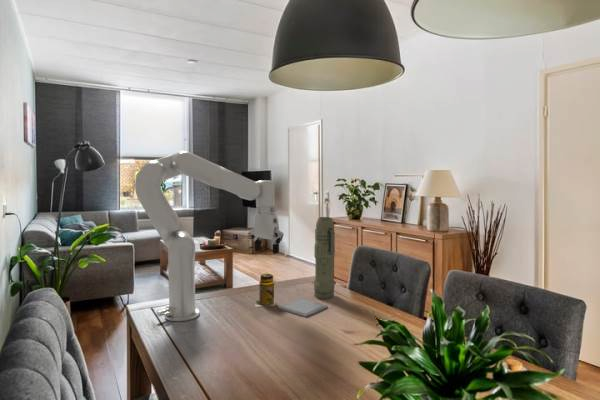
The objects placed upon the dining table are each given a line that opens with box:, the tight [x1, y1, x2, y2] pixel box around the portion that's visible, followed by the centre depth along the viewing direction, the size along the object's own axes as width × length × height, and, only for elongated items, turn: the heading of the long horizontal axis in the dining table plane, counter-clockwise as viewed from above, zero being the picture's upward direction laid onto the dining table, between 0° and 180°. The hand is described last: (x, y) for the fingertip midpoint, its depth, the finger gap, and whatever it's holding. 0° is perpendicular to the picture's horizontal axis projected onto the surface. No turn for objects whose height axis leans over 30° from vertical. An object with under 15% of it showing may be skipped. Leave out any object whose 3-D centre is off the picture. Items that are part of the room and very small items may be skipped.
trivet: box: [278, 298, 329, 318], centre depth 154 cm, size 14×14×1 cm
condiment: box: [253, 273, 277, 308], centre depth 160 cm, size 7×8×12 cm
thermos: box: [313, 216, 336, 300], centre depth 169 cm, size 9×12×35 cm
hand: (266, 251), depth 158 cm, fingers open, 9 cm apart
